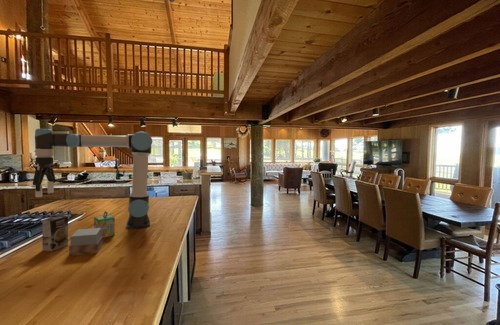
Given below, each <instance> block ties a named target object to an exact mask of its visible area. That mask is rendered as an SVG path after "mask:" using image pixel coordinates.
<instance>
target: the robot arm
mask: <svg viewBox="0 0 500 325" xmlns="http://www.w3.org/2000/svg"><path fill="white" fill-rule="evenodd" d="M34 133H35V134H34V147H35V148H34V152H33V153H35V155H34V156H36V157H35V159H34V161H35V163H34V164H35V165H36V166H35V171H34V175H33V180H32V186H34V189H35V191H34V194H35V195H34V196H35V198H43V184H42V183H43V181H44V178H45V177H46V180H47V184H46V185H47V191H46V192H47V194H53V193H55V191H54V190H55V189H54V188H55V187H54V186H55V184H54V182H56V180H57V179H56V176H55V172H54V166H53V164H54V157H53V156H54V147H64V148H65V147H66V148H87V147H89V148H90V147H91V148H94V147H95V148H127V149H130V152H131V154H132V155H133V161H132V162H133V164H132V184H131V186H132V187H131V193H130V194H129V196H128V208H127V209H128V210H127V211H128V213H129V215H128V219H127V221H126V224H125V225H126V226H125V227H126V229H130V230H138V229H145V228H147V227H149V225H150V226H151V220H150V217H149V214H148V212H149V210H150V205H149V204H150V203H149V202H150V194H149V193H148V191H147V190H148V173H149V172H148V171H149V170H148V168H149V156H150V155H151V154H152V144H153V138H152V136H151V135H150V134H149V133H148V132H146V131H137V132H135V133H133V134H132V133H131V134H130V133H129V134H126V135H109V134H107V135H103V134H99V135H98V134H78V133H77V134H76V133H71V132H70V133H63V132H62V133H61V132H60V133H58V132H54V131H53V129H50V128H36V129H35V130H34Z"/></svg>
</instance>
